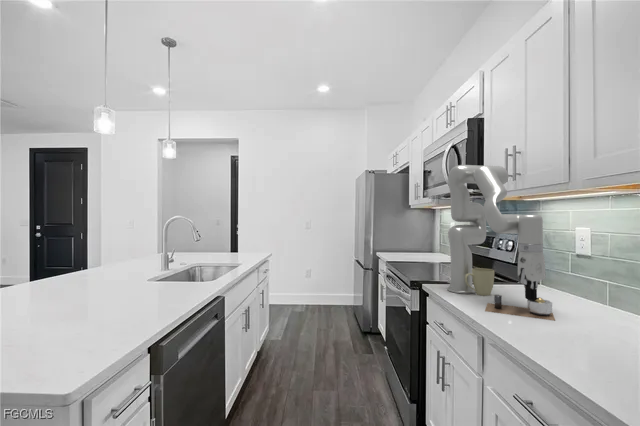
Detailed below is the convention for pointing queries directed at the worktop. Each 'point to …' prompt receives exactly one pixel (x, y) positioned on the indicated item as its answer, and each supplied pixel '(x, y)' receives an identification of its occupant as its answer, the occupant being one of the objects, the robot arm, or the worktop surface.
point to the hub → (539, 313)
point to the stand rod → (497, 301)
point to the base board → (516, 311)
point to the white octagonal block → (539, 306)
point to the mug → (482, 280)
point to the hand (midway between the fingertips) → (530, 299)
